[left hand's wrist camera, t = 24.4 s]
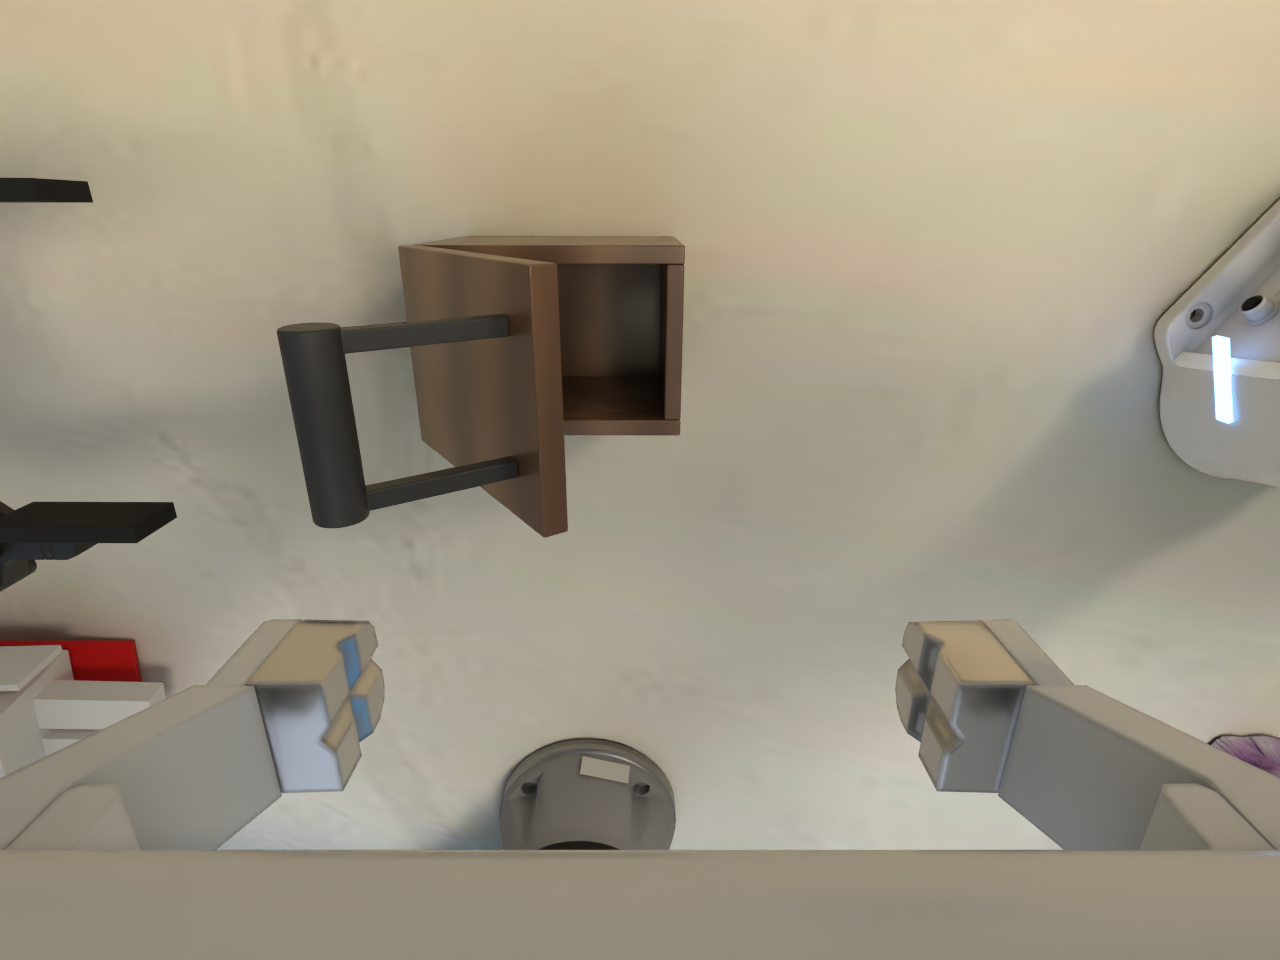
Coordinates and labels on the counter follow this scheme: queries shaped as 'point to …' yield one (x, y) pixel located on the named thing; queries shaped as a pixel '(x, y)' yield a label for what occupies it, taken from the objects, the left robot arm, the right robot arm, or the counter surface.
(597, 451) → the counter surface
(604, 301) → the chest
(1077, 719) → the left robot arm
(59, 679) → the toy
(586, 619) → the counter surface
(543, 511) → the lid
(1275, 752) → the figurine
